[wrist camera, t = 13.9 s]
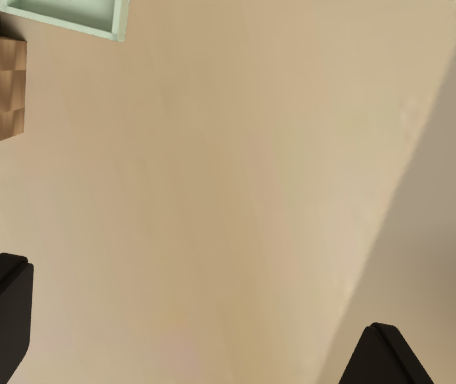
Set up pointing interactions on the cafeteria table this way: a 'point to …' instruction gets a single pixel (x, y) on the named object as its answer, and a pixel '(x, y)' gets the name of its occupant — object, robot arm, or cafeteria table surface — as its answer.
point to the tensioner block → (12, 86)
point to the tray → (76, 15)
